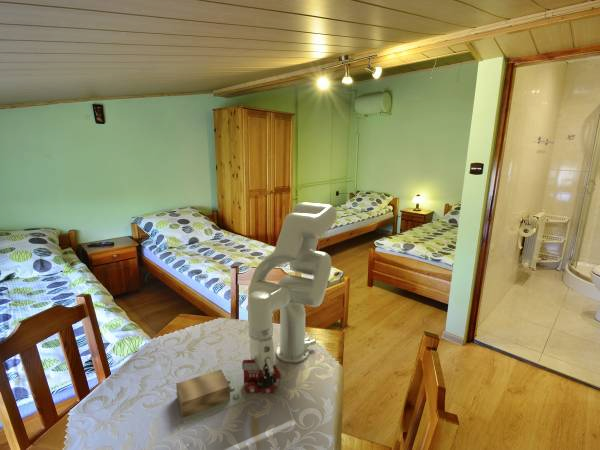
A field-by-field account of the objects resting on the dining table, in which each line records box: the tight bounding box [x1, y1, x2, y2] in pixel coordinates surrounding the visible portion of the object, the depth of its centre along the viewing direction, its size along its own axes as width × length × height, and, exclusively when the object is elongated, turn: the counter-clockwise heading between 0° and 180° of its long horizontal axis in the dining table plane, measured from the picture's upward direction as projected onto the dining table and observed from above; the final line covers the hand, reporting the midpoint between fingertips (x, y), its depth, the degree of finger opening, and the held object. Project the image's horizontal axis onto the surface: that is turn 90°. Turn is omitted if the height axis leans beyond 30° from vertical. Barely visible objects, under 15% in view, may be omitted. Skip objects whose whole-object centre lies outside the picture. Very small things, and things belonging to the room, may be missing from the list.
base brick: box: [175, 369, 230, 419], centre depth 99 cm, size 14×9×5 cm, turn 120°
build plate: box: [175, 374, 246, 425], centre depth 100 cm, size 18×14×2 cm
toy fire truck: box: [241, 359, 282, 394], centre depth 105 cm, size 7×12×10 cm, turn 90°
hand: (261, 377), depth 105 cm, fingers closed on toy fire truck, 8 cm apart
